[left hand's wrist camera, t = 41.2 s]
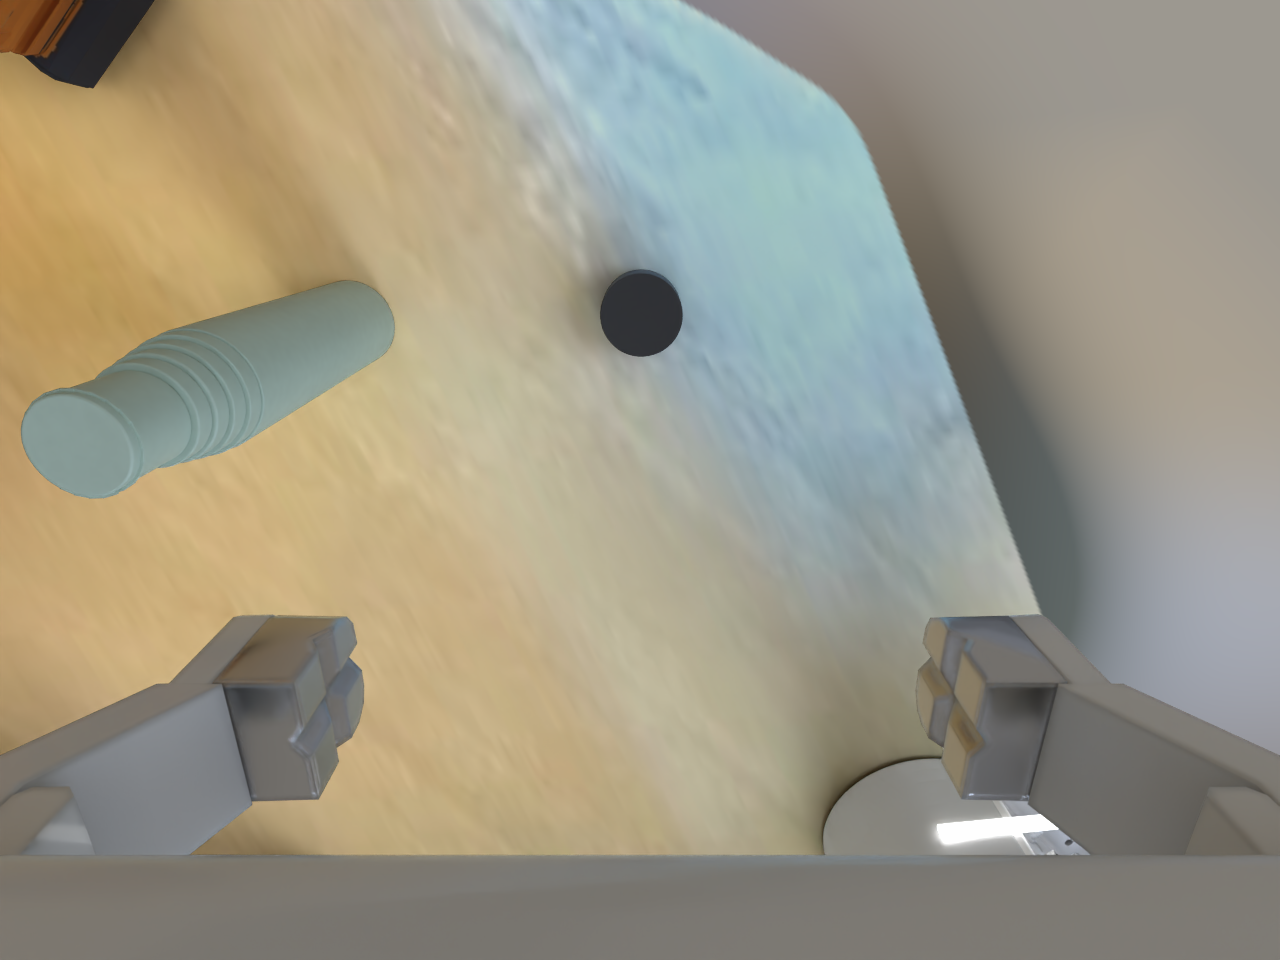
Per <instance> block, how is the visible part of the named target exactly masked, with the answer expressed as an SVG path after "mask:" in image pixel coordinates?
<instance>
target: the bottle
mask: <svg viewBox="0 0 1280 960" xmlns="http://www.w3.org/2000/svg"><path fill="white" fill-rule="evenodd" d="M394 328H395V327H394V319H393V315H392V312H391V310H390V308H389V306H388V304H387V303H386V301H385V300H384V299H383V298H382V296H381V295H380V294H379V293H378V292H376V291H375V290H374V289H372V288H371V287H369V286H367V285H365V284H363V283H359V282H356V281H339V282H335V283H331V284H328V285H324V286H321V287H317V288H314V289H310V290H307V291H304V292H300V293H297V294H293V295H290V296H286V297H283V298H279V299H276V300H272V301H269V302H266V303H262V304H259V305H255V306H252V307H248V308H245V309H241V310H238V311H234V312H231V313H228V314H224V315H221V316H217V317H214V318H210V319H207V320H203V321H200V322H197V323H193V324H190V325H186V326H183V327H179V328H176V329H172V330H169V331H166V332H164V333H161V334H160V335H158V336H156V337H154V338H151V339H149V340H147V341H145V342H144V343H142V344H141V345H139V346H138V347H137V348H136V349H134V350H132V351H131V352H129V353H128V354H127V355H126V356H124V357H123V358H121V359H120V360H118V361H117V362H115V363H114V364H113V365H112V366H110V367H108V368H107V369H105V370H103V371H102V372H101V373H100V374H99V375H98V376H97V377H96V378H95V379H94V380H91V381H88V382H86V383H83V384H80V385H77V386H74V387H71V388H59V389H56V390H53V391H50V392H46V393H44V394H42V395H41V396H40V397H38V398H37V399H35V400H34V401H33V402H32V403H31V405H30V406H29V408H28V409H27V411H26V412H25V415H24V418H23V421H22V426H21V438H22V443H23V447H24V449H25V452H26V454H27V456H28V458H29V460H30V461H31V463H32V464H33V465H34V467H35V468H36V469H37V470H38V471H39V473H40V474H42V475H43V476H44V477H45V478H46V479H47V480H49V481H50V482H51V483H53V484H54V485H56V486H57V487H59V488H60V489H62V490H64V491H67V492H69V493H72V494H74V495H76V496H81V497H86V498H89V499H90V498H106V497H110V496H113V495H116V494H118V493H119V492H120V491H124V490H125V489H127V488H128V487H130V486H131V485H133V484H134V483H136V481H137V480H138V478H140V477H142V476H143V475H145V474H147V473H149V472H151V471H152V470H154V469H156V468H164V467H170V466H174V465H176V464H179V463H184V462H189V461H192V460H195V459H201V458H205V457H207V456H212V455H216V454H220V453H222V452H225V451H227V450H229V449H231V448H234V447H237V446H239V445H241V444H242V443H244V442H246V441H247V440H249V439H251V438H252V437H254V436H255V435H257V434H259V433H260V432H262V431H263V430H265V429H267V428H268V427H270V426H271V425H273V424H275V423H276V422H278V421H279V420H281V419H282V418H284V417H286V416H287V415H289V414H290V413H292V412H294V411H295V410H297V409H298V408H300V407H302V406H303V405H305V404H306V403H308V402H310V401H311V400H313V399H314V398H316V397H318V396H319V395H321V394H322V393H324V392H326V391H327V390H329V389H330V388H332V387H334V386H335V385H337V384H338V383H340V382H342V381H343V380H345V379H346V378H348V377H349V376H351V375H353V374H354V373H356V372H357V371H359V370H361V369H362V368H364V367H365V366H367V365H369V364H370V363H372V362H373V361H375V360H377V359H378V358H380V357H381V356H382V355H383V354H384V353H385V352H386V351H387V350H388V349H389V347H390V345H391V343H392V340H393V337H394Z"/></svg>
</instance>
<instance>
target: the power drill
mask: <svg viewBox="0 0 1280 960" xmlns="http://www.w3.org/2000/svg"><path fill="white" fill-rule="evenodd" d="M153 2H154V0H0V52H9V51H11V52H13V53H17V54H20V55H23V56H25V57H26V58H27V59H28V60H29V61H30V62H31V63H32V64H34V65H35V66H36V67H37V68H38V69H39V70H40V71H42V72H43V73H45V74H46V75H48V76H50V77H51V78H53V79H54V80H57V81H61V82H65V83H69V84H73V85H77V86H81V87H85V88H94V87H95V85H96V84H97V82H98V81H99V79H100V78H101V76H102V75H103V74H104V72H105V71H106V69H107V68H108V66H109V65H110V64H111V62H112V61H113V59H114V58H115V56H116V55H117V53H118V52H119V51H120V49H121V48H122V46H123V45H124V43H125V42H126V41H127V39H128V38H129V36H130V35H131V33H132V32H133V30H134V29H135V28H136V26H137V25H138V23H139V22H140V20H141V19H142V18H143V16H144V15H145V13H146V12H147V10H148V9H149V7H150V6H151V5H152V3H153Z"/></svg>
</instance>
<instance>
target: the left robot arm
mask: <svg viewBox="0 0 1280 960" xmlns="http://www.w3.org/2000/svg"><path fill="white" fill-rule="evenodd" d="M356 645H357V640H356V635H355V630H354V625H353V623H352V622H351V621H350V620H349V619H348V618H347V617H343V616H293V615H277V616H275V615H242V616H237V617H233V618H232V619H231V620H230V621H229V622H228V623H227V624H226V625H225V626H224V627H223V629H222V630H221V631H220V632H219V633H218V634H217V635H216V636H215V637H214V638H213V639H212V640H211V641H210V642H209V643H208V644H207V645H206V646H205V647H204V648H203V649H202V650H201V651H200V652H199V653H198V654H197V655H196V656H195V657H194V658H193V659H192V660H191V661H190V662H189V663H188V664H187V665H186V667H185V668H184V669H183V670H182V671H181V672H180V673H179V674H178V675H177V676H176V677H175V678H174V679H173V680H172V681H171V682H170V683H169V684H155V685H153V686H151V687H149V688H147V689H144V690H142V691H140V692H138V693H136V694H133V695H131V696H129V697H127V698H125V699H122V700H120V701H118V702H116V703H114V704H112V705H109V706H107V707H105V708H103V709H101V710H98V711H96V712H94V713H92V714H90V715H87V716H85V717H83V718H81V719H79V720H77V721H74V722H72V723H70V724H68V725H66V726H63V727H61V728H59V729H57V730H55V731H52V732H50V733H48V734H46V735H44V736H41V737H39V738H37V739H35V740H33V741H31V742H28V743H26V744H24V745H22V746H20V747H17V748H15V749H13V750H11V751H9V752H6V753H4V754H2V755H0V960H1280V755H1277V754H1275V753H1273V752H1271V751H1269V750H1267V749H1264V748H1262V747H1260V746H1258V745H1256V744H1253V743H1251V742H1249V741H1247V740H1245V739H1243V738H1240V737H1238V736H1236V735H1234V734H1232V733H1229V732H1227V731H1225V730H1223V729H1221V728H1219V727H1216V726H1214V725H1212V724H1210V723H1208V722H1205V721H1203V720H1201V719H1199V718H1197V717H1195V716H1192V715H1190V714H1188V713H1186V712H1184V711H1181V710H1179V709H1177V708H1175V707H1173V706H1170V705H1168V704H1166V703H1164V702H1162V701H1160V700H1157V699H1155V698H1153V697H1151V696H1149V695H1147V694H1144V693H1142V692H1140V691H1138V690H1135V689H1133V688H1131V687H1129V686H1127V685H1125V684H1111V683H1110V682H1109V681H1108V680H1107V679H1106V678H1105V677H1104V676H1103V675H1102V674H1101V673H1100V672H1099V671H1098V670H1097V669H1096V667H1095V666H1094V665H1093V664H1092V663H1091V662H1090V661H1089V660H1088V659H1087V658H1086V657H1085V656H1084V655H1083V654H1082V653H1081V652H1080V651H1079V650H1078V649H1077V648H1076V647H1075V646H1074V645H1073V644H1072V643H1071V642H1070V641H1069V640H1068V639H1067V638H1066V637H1065V636H1064V635H1063V634H1062V632H1061V631H1060V630H1059V629H1058V628H1057V627H1056V626H1055V625H1054V624H1053V623H1052V622H1051V621H1050V620H1049V619H1048V618H1046V617H1043V616H1041V615H1038V614H1036V615H1010V616H980V617H941V618H930V620H929V622H928V624H927V626H926V628H925V634H924V639H923V645H924V646H925V648H926V649H927V651H928V653H929V654H930V656H931V658H930V659H929V660H928V661H927V662H926V663H925V664H924V665H923V666H922V667H921V668H920V669H919V670H918V676H917V684H916V701H917V711H918V714H919V717H920V721H921V724H922V726H923V728H924V730H925V732H926V734H927V736H928V738H930V739H931V740H933V741H934V742H936V743H937V744H938V745H940V746H941V747H943V753H942V759H918V760H911V761H906V762H902V763H898V764H894V765H891V766H888V767H885V768H883V769H881V770H878V771H876V772H874V773H872V774H870V775H868V776H867V777H865V778H863V779H862V780H860V781H859V782H857V783H856V784H855V785H853V786H852V787H851V788H850V789H849V790H848V791H847V792H845V793H844V794H843V796H842V797H841V798H840V799H839V800H838V801H837V803H836V804H835V805H834V807H833V808H832V810H831V812H830V814H829V816H828V818H827V821H826V823H825V827H824V832H823V848H824V853H825V855H190V854H191V853H192V852H193V851H195V850H196V849H197V848H198V847H200V846H201V845H202V844H203V843H205V842H206V841H207V840H209V839H210V838H211V837H212V836H214V835H215V834H216V833H217V832H219V831H220V830H221V829H222V828H224V827H225V826H226V825H227V824H229V823H230V822H231V821H232V820H234V819H235V818H236V817H237V816H239V815H240V814H241V813H242V812H244V811H245V810H246V809H247V808H249V807H250V806H251V805H252V801H280V800H315V799H319V798H320V796H321V794H322V792H323V790H324V789H325V787H326V785H327V783H328V781H329V779H330V777H331V776H332V774H333V772H334V770H335V768H336V766H337V764H338V762H339V759H338V753H337V747H339V746H340V745H342V744H343V743H344V742H346V741H347V740H349V739H350V738H352V736H353V734H354V732H355V730H356V728H357V726H358V724H359V721H360V717H361V713H362V708H363V704H364V681H363V675H362V670H361V669H360V668H359V667H358V666H357V665H356V664H355V663H354V662H353V661H352V660H351V659H350V658H349V656H350V654H351V653H352V651H353V649H354V648H355V646H356Z"/></svg>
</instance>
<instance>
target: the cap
mask: <svg viewBox="0 0 1280 960" xmlns="http://www.w3.org/2000/svg"><path fill="white" fill-rule="evenodd" d="M682 315H683V313H682V306H681V302H680V299H679V296H678V294H677V292H676V290H675V288H674V287H673V285H672V284H671V283H670V282H669V281H668V280H667V279H666V278H665V277H663V276H662V275H660V274H658V273H656V272H653V271H649V270H634V271H630V272H627V273H625V274H623V275H621V276H619V277H618V278H617V279H616V280H615V281H614V282H613V283H612V284H611V285H610V286H609V288H608V290H607V291H606V294H605V296H604V299H603V302H602V305H601V312H600V319H601V325H602V328H603V331H604V333H605V335H606V337H607V338H608V340H609V341H610V342H611V343H612V344H613V345H614V346H615V347H616V348H617V349H618V350H620V351H622V352H624V353H626V354H629V355H632V356H639V357H644V356H651V355H654V354H657V353H659V352H661V351H663V350H664V349H666V348H667V347H668V346H669V345H670V344H671V343H672V342H673V341H674V340H675V338H676V337H677V335H678V333H679V331H680V328H681V324H682Z"/></svg>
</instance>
